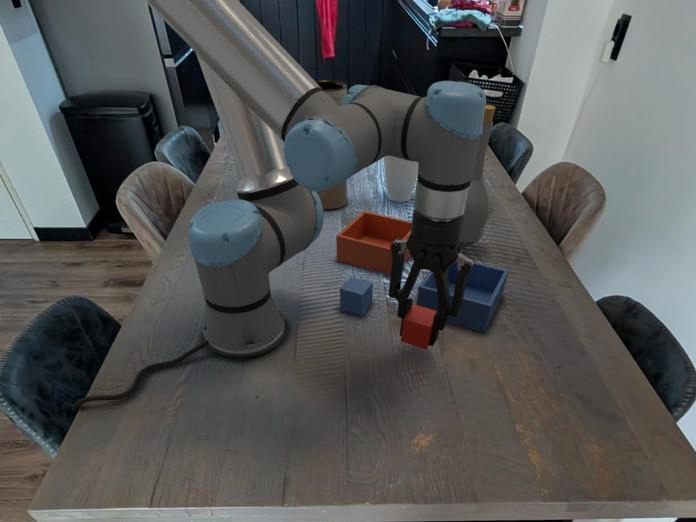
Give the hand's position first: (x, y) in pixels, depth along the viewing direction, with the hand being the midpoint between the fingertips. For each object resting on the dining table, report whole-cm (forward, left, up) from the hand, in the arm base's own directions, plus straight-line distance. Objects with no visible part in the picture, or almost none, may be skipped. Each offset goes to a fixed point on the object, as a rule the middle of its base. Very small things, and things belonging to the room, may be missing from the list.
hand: (418, 336), depth 86 cm
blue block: (+8, +16, -4) cm, 19 cm away
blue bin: (+19, -3, -3) cm, 19 cm away
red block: (0, 0, 0) cm, 0 cm away
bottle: (+43, +4, -4) cm, 43 cm away
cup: (+63, +29, -4) cm, 70 cm away
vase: (+50, +45, -4) cm, 68 cm away
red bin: (+30, +21, -4) cm, 37 cm away
